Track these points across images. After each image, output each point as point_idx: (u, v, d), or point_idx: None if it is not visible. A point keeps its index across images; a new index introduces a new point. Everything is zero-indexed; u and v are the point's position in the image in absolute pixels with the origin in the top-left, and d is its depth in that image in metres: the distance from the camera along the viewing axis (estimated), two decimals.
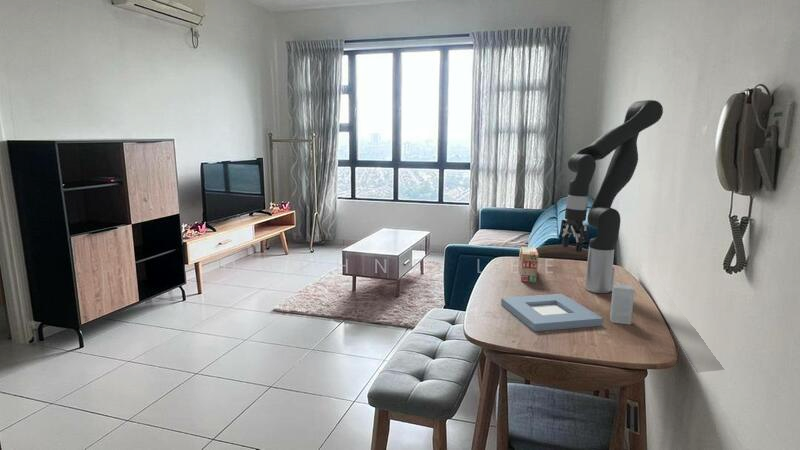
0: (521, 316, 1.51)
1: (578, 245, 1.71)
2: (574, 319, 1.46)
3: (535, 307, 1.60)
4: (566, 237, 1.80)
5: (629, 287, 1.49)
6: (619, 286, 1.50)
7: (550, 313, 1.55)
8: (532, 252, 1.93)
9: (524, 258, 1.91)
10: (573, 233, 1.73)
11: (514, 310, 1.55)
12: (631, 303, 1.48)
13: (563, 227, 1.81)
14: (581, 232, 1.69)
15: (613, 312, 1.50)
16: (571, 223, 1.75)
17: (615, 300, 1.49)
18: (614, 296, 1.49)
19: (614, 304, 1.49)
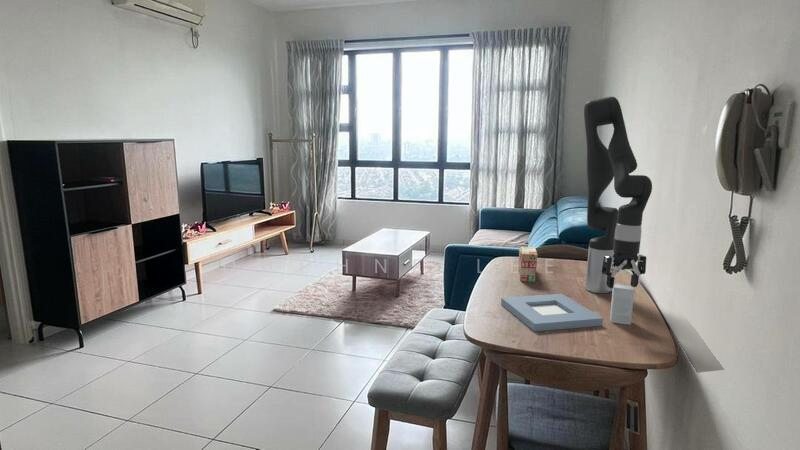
0: (521, 316, 1.51)
1: (637, 279, 1.49)
2: (574, 319, 1.46)
3: (535, 307, 1.60)
4: None
5: (629, 287, 1.49)
6: (619, 286, 1.50)
7: (550, 313, 1.55)
8: (531, 252, 1.93)
9: (523, 258, 1.91)
10: (634, 268, 1.47)
11: (514, 310, 1.55)
12: (631, 303, 1.48)
13: None
14: (644, 263, 1.48)
15: (613, 312, 1.50)
16: (626, 257, 1.46)
17: (615, 300, 1.49)
18: (614, 296, 1.49)
19: (614, 304, 1.49)
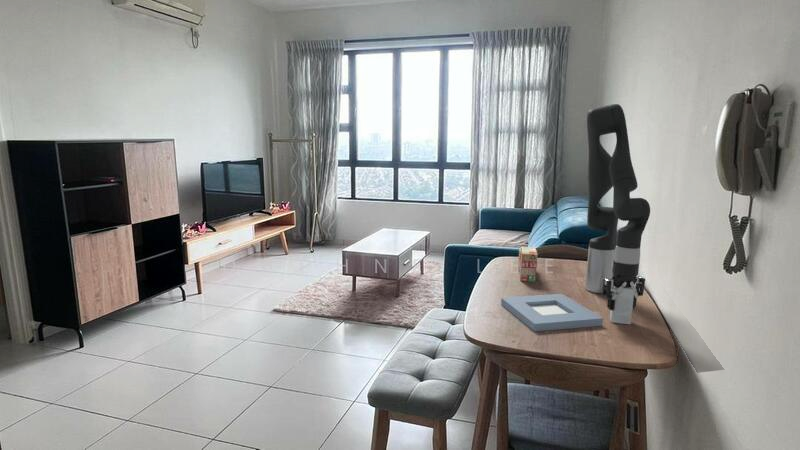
0: (521, 316, 1.51)
1: (635, 300, 1.51)
2: (574, 319, 1.46)
3: (535, 307, 1.60)
4: None
5: (629, 287, 1.49)
6: None
7: (550, 313, 1.55)
8: (531, 252, 1.93)
9: (523, 258, 1.91)
10: None
11: (514, 310, 1.55)
12: (631, 303, 1.48)
13: None
14: (643, 285, 1.50)
15: (613, 312, 1.50)
16: (625, 279, 1.48)
17: (615, 300, 1.49)
18: None
19: None
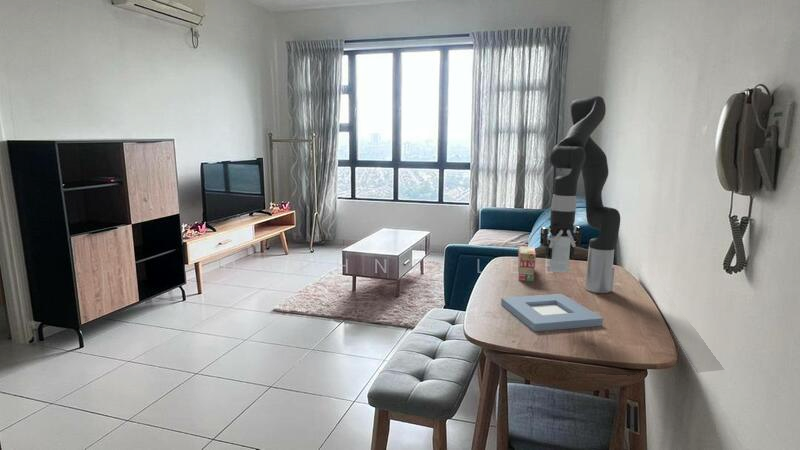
0: (521, 316, 1.51)
1: (573, 250, 1.52)
2: (574, 319, 1.46)
3: (535, 307, 1.60)
4: None
5: (566, 236, 1.50)
6: None
7: (550, 313, 1.55)
8: (530, 251, 1.94)
9: (521, 257, 1.92)
10: None
11: (514, 310, 1.55)
12: (568, 251, 1.49)
13: None
14: (580, 234, 1.51)
15: (551, 261, 1.51)
16: (562, 228, 1.49)
17: (553, 249, 1.51)
18: None
19: (552, 253, 1.51)
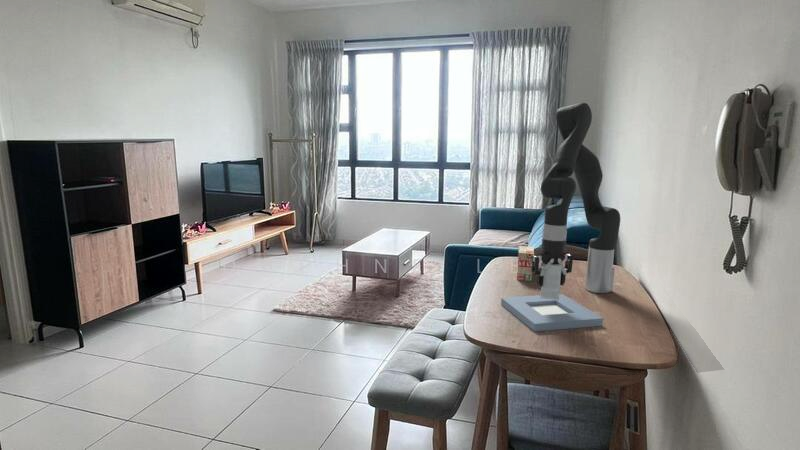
0: (521, 316, 1.51)
1: (564, 277, 1.55)
2: (574, 319, 1.46)
3: (535, 307, 1.60)
4: None
5: (557, 264, 1.53)
6: None
7: (550, 313, 1.55)
8: (528, 251, 1.94)
9: (520, 257, 1.93)
10: None
11: (514, 310, 1.55)
12: (559, 279, 1.52)
13: None
14: (571, 262, 1.54)
15: (542, 288, 1.54)
16: (553, 256, 1.52)
17: (544, 276, 1.53)
18: None
19: (543, 280, 1.54)
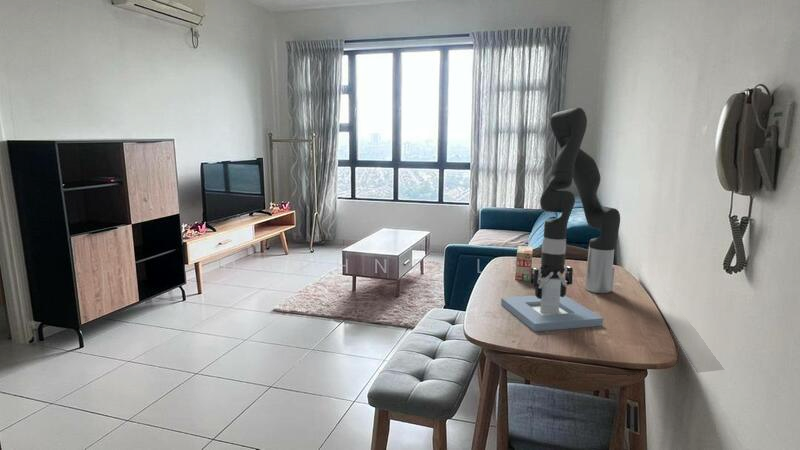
0: (521, 316, 1.51)
1: (565, 289, 1.56)
2: (574, 319, 1.46)
3: (535, 307, 1.60)
4: None
5: (557, 278, 1.54)
6: None
7: (550, 313, 1.55)
8: (527, 251, 1.95)
9: (518, 256, 1.93)
10: (561, 279, 1.53)
11: (514, 310, 1.55)
12: (558, 293, 1.53)
13: None
14: (571, 274, 1.55)
15: (542, 302, 1.55)
16: (553, 269, 1.53)
17: (543, 290, 1.54)
18: (542, 286, 1.54)
19: (543, 294, 1.54)
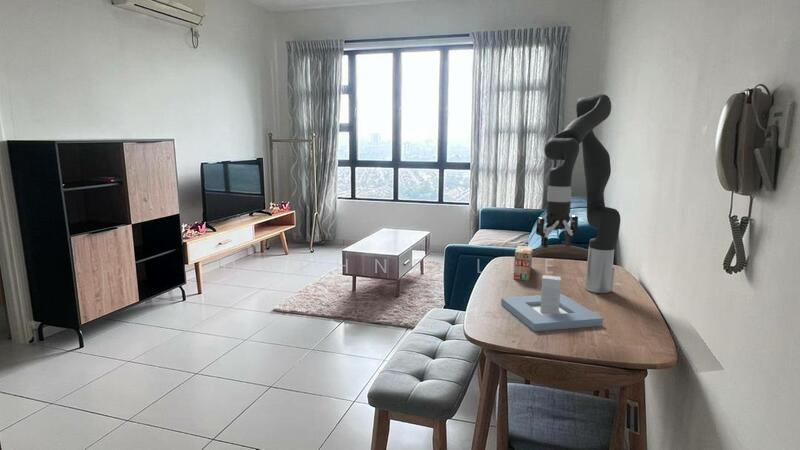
0: (521, 316, 1.51)
1: (570, 238, 1.56)
2: (574, 319, 1.46)
3: (535, 307, 1.60)
4: None
5: (557, 278, 1.54)
6: (547, 277, 1.55)
7: (550, 313, 1.55)
8: (525, 250, 1.95)
9: (516, 256, 1.94)
10: (566, 228, 1.53)
11: (514, 310, 1.55)
12: (558, 293, 1.53)
13: None
14: (576, 223, 1.55)
15: (542, 302, 1.55)
16: (558, 218, 1.53)
17: (543, 290, 1.54)
18: (542, 286, 1.54)
19: (543, 294, 1.54)
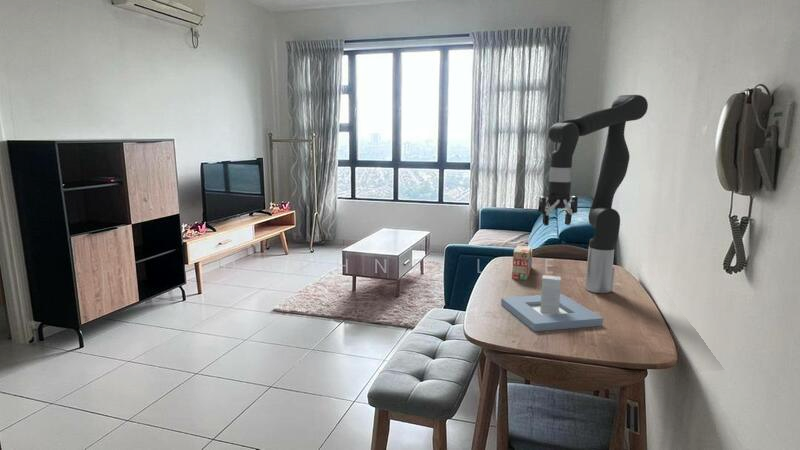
0: (521, 316, 1.51)
1: (570, 217, 1.67)
2: (574, 319, 1.46)
3: (535, 307, 1.60)
4: None
5: (557, 278, 1.54)
6: (547, 277, 1.55)
7: (550, 313, 1.55)
8: (524, 250, 1.96)
9: (515, 256, 1.94)
10: (566, 207, 1.65)
11: (514, 310, 1.55)
12: (558, 293, 1.53)
13: None
14: (576, 203, 1.66)
15: (542, 302, 1.55)
16: (559, 197, 1.64)
17: (543, 290, 1.54)
18: (542, 286, 1.54)
19: (543, 294, 1.54)
